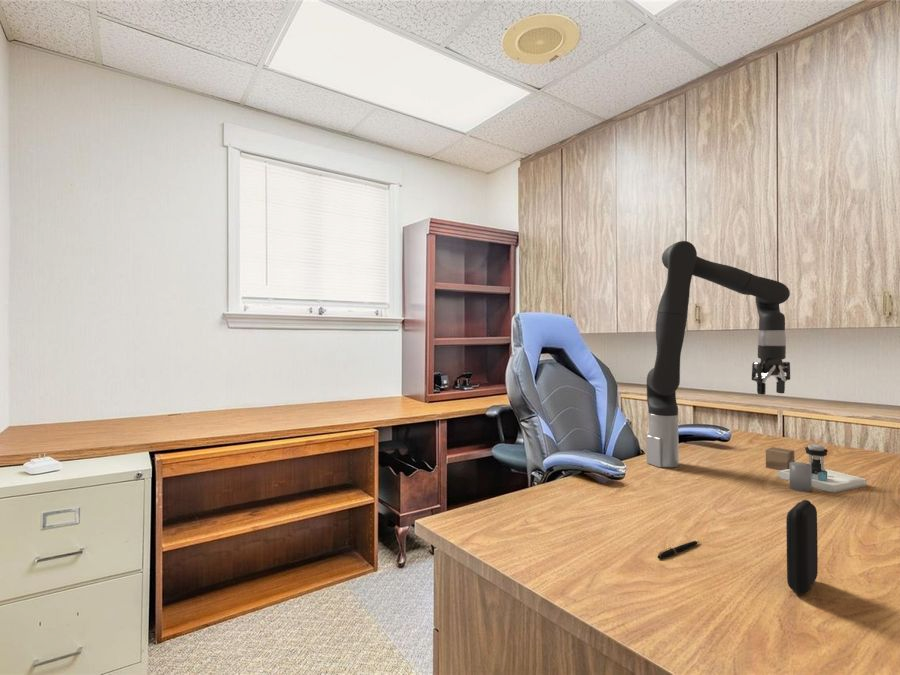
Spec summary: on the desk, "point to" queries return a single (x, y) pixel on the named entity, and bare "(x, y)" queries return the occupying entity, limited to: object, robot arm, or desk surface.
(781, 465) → the walnut block
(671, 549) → the fountain pen
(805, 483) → the dark grey cylinder
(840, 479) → the grey tray
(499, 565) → the desk surface
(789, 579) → the carrying case or bag
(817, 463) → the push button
